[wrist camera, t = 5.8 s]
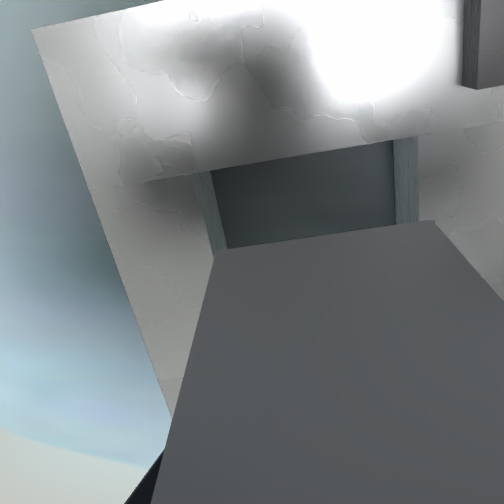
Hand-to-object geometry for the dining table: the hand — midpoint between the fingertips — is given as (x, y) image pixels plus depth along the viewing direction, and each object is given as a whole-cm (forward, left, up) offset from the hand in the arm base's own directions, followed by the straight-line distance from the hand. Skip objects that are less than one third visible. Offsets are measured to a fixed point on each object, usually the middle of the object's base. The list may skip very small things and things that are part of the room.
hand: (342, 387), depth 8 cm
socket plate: (0, -1, -7) cm, 7 cm away
